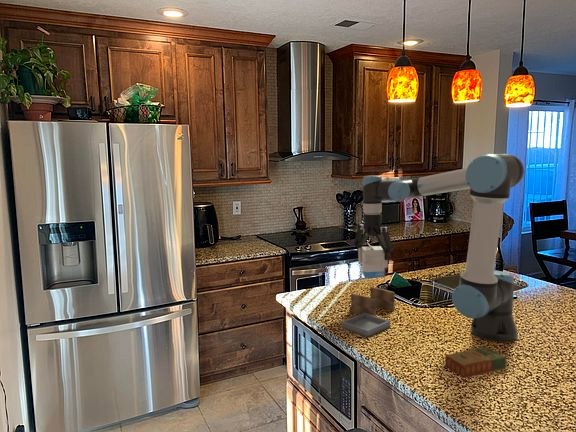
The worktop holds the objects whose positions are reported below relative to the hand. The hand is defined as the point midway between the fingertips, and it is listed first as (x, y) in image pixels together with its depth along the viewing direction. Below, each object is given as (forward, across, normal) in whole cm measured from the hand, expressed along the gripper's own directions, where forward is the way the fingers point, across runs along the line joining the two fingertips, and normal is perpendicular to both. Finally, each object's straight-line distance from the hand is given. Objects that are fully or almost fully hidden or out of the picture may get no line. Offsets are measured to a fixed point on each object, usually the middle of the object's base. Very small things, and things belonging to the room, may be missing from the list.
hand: (372, 265), depth 178 cm
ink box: (+5, 0, 0) cm, 5 cm away
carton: (+21, -52, +17) cm, 58 cm away
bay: (+20, 0, 0) cm, 20 cm away
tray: (+20, -9, +16) cm, 27 cm away
